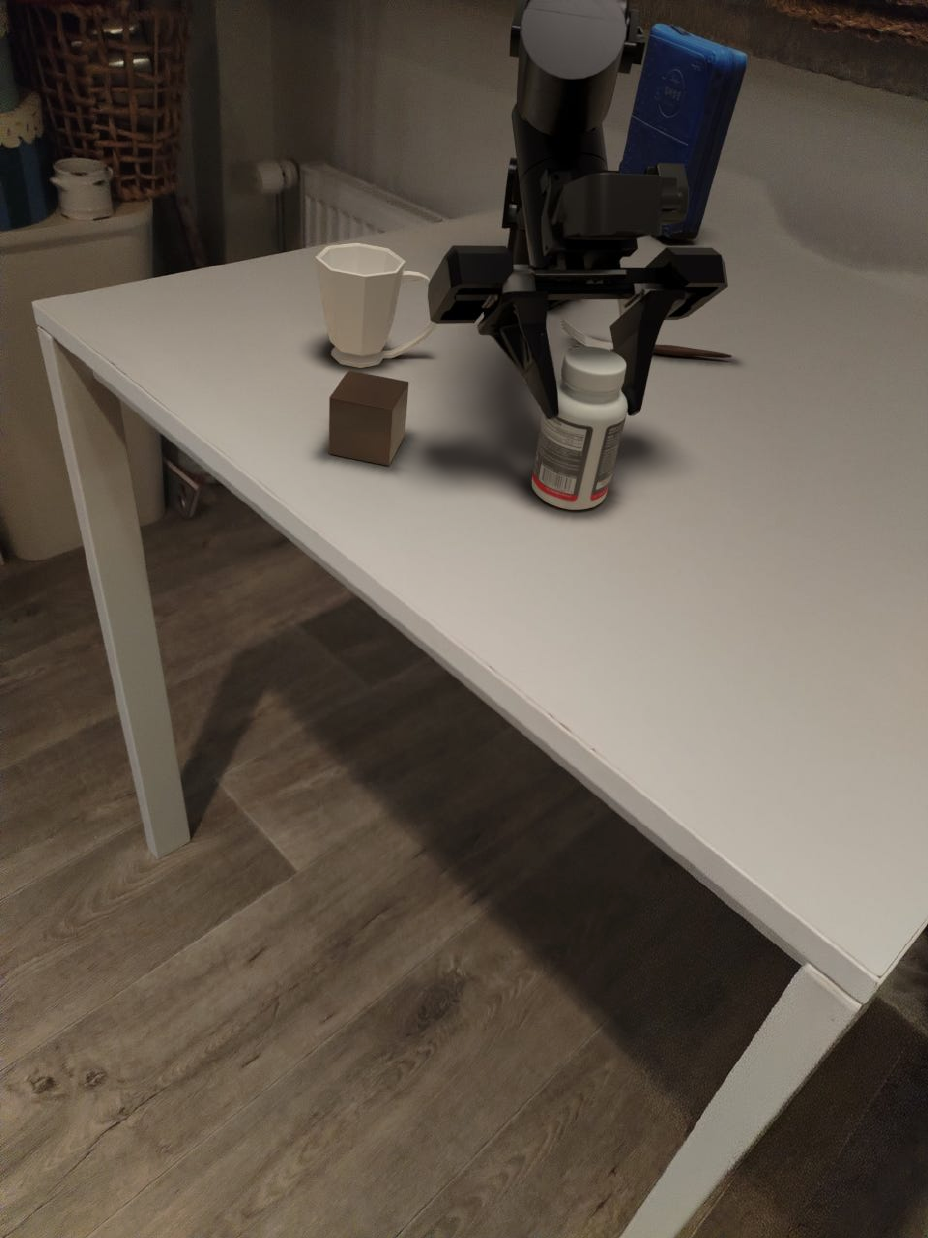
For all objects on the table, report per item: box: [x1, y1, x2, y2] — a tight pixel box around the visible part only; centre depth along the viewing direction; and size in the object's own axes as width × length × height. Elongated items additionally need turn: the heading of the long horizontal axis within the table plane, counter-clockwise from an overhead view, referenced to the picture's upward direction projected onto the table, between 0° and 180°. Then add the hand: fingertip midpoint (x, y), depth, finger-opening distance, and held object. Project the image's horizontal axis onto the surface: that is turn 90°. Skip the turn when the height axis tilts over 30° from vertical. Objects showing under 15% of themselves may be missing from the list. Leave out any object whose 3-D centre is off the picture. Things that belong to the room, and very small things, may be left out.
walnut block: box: [328, 369, 409, 467], centre depth 63 cm, size 4×4×4 cm
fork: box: [560, 316, 732, 359], centre depth 82 cm, size 3×16×2 cm, turn 89°
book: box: [617, 23, 749, 240], centre depth 104 cm, size 14×5×20 cm, turn 23°
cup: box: [315, 242, 437, 369], centre depth 73 cm, size 7×10×8 cm
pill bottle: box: [531, 345, 628, 511], centre depth 60 cm, size 5×5×10 cm
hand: (594, 415), depth 58 cm, fingers closed on pill bottle, 5 cm apart
